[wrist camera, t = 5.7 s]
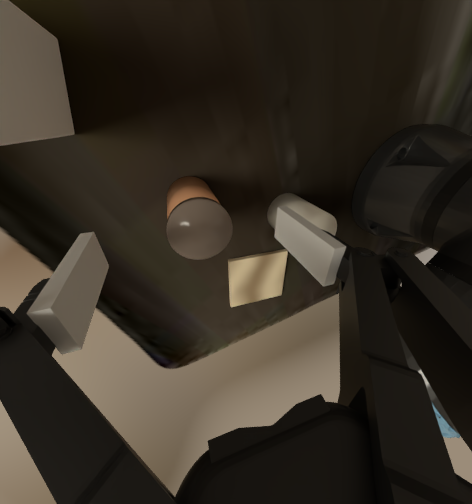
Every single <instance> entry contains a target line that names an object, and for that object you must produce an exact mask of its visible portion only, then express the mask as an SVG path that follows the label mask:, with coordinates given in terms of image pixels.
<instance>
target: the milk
mask: <svg viewBox="0 0 472 504" xmlns="http://www.w3.org/2000/svg"><path fill="white" fill-rule="evenodd" d="M74 134H75V133H74V127H73V121H72V116H71V110H70V105H69V99H68V94H67V88H66V83H65V77H64V72H63V66H62V61H61V55H60V49H59V44H58V40H57V38H56V37H55V36H53V35H52V34H51V33H49V32H48V31H47V30H46V29H44V28H43V27H42V26H41V25H39V24H38V23H37V22H36V21H34V20H33V19H32V18H30V17H29V16H28V15H27V14H25V13H24V12H23V11H22V10H20V9H19V8H18V7H16V6H15V5H14V4H13V3H11V2H10V1H9V0H0V146H2V145H9V144H15V143H22V142H29V141H36V140H42V139H49V138H56V137H63V136H69V135H74Z"/></svg>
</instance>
